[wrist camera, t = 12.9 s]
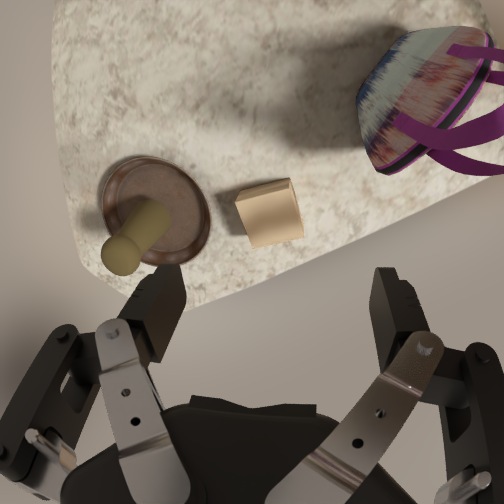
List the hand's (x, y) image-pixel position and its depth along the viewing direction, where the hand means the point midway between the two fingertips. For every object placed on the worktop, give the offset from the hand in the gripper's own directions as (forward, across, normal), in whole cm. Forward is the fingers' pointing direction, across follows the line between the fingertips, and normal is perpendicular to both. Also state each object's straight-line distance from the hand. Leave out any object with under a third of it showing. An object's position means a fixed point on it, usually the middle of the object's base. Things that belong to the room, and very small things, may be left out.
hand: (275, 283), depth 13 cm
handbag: (+30, -15, -7) cm, 35 cm away
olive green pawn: (+28, +20, +10) cm, 35 cm away
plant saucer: (+31, +20, +10) cm, 38 cm away
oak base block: (+30, +3, +10) cm, 32 cm away
